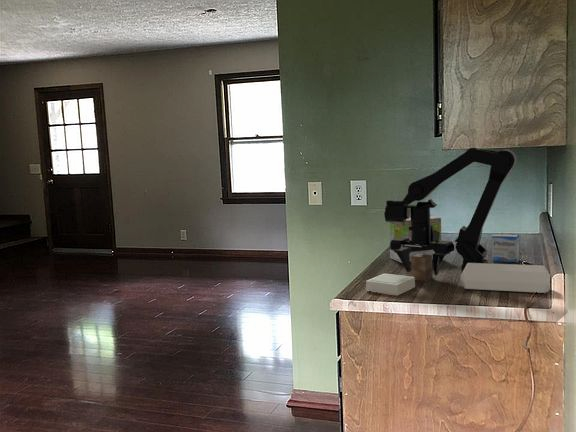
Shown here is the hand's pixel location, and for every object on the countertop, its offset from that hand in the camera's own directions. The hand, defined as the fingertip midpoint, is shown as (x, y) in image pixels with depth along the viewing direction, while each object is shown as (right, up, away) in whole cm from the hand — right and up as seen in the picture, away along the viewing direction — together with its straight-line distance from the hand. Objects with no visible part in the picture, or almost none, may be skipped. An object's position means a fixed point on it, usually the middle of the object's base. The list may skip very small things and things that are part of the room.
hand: (422, 273), depth 180 cm
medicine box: (+31, +2, +17) cm, 36 cm away
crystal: (+19, -3, -16) cm, 25 cm away
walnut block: (0, -2, 0) cm, 2 cm away
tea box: (+4, +2, +28) cm, 28 cm away
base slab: (-11, -4, -10) cm, 15 cm away
